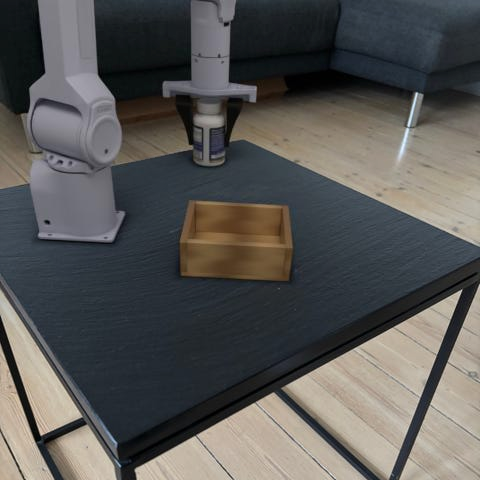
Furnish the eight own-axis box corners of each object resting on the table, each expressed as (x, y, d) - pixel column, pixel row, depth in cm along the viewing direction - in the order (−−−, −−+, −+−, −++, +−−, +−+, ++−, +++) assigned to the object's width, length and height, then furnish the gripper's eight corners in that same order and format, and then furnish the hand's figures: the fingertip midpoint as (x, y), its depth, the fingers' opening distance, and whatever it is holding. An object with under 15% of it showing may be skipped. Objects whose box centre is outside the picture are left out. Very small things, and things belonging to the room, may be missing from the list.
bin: (180, 275, 60) (179, 241, 57) (189, 231, 68) (189, 200, 65) (288, 281, 60) (293, 248, 57) (284, 236, 68) (288, 205, 65)
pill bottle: (226, 156, 89) (228, 97, 83) (222, 168, 85) (224, 107, 79) (195, 154, 90) (195, 95, 84) (190, 165, 86) (189, 104, 79)
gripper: (258, 51, 80) (253, 138, 89) (165, 45, 80) (169, 133, 89) (258, 61, 75) (252, 153, 83) (159, 55, 75) (163, 148, 83)
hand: (209, 144), depth 86 cm, fingers closed on pill bottle, 5 cm apart
